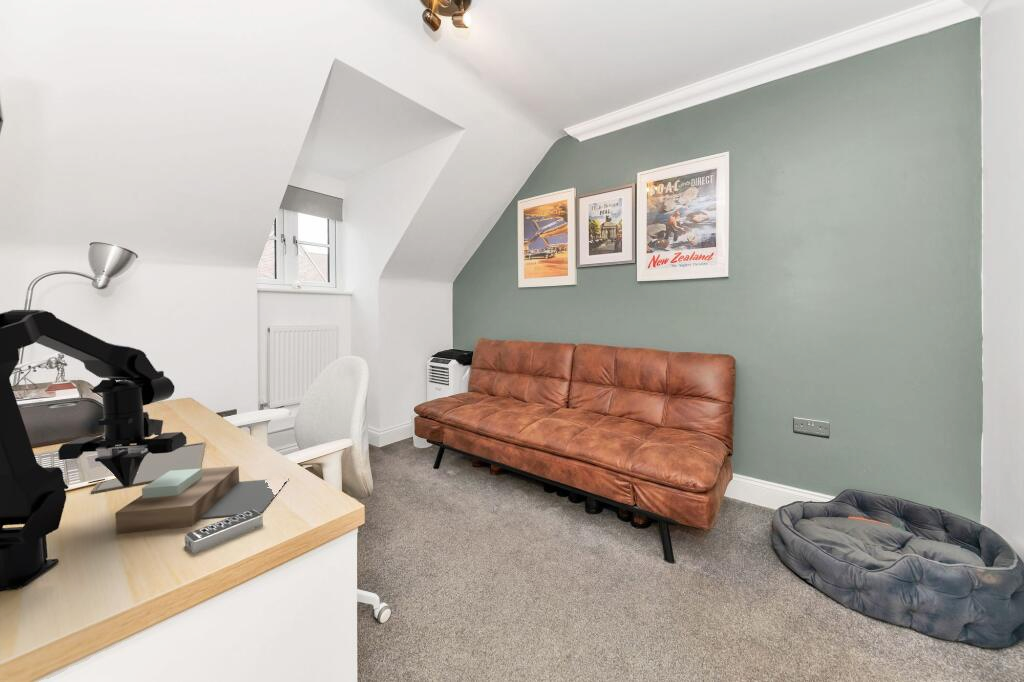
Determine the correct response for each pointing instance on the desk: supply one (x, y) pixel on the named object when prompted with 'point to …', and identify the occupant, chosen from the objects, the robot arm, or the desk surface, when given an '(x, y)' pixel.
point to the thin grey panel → (160, 466)
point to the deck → (177, 503)
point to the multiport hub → (222, 530)
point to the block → (172, 483)
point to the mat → (242, 499)
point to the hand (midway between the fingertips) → (128, 485)
